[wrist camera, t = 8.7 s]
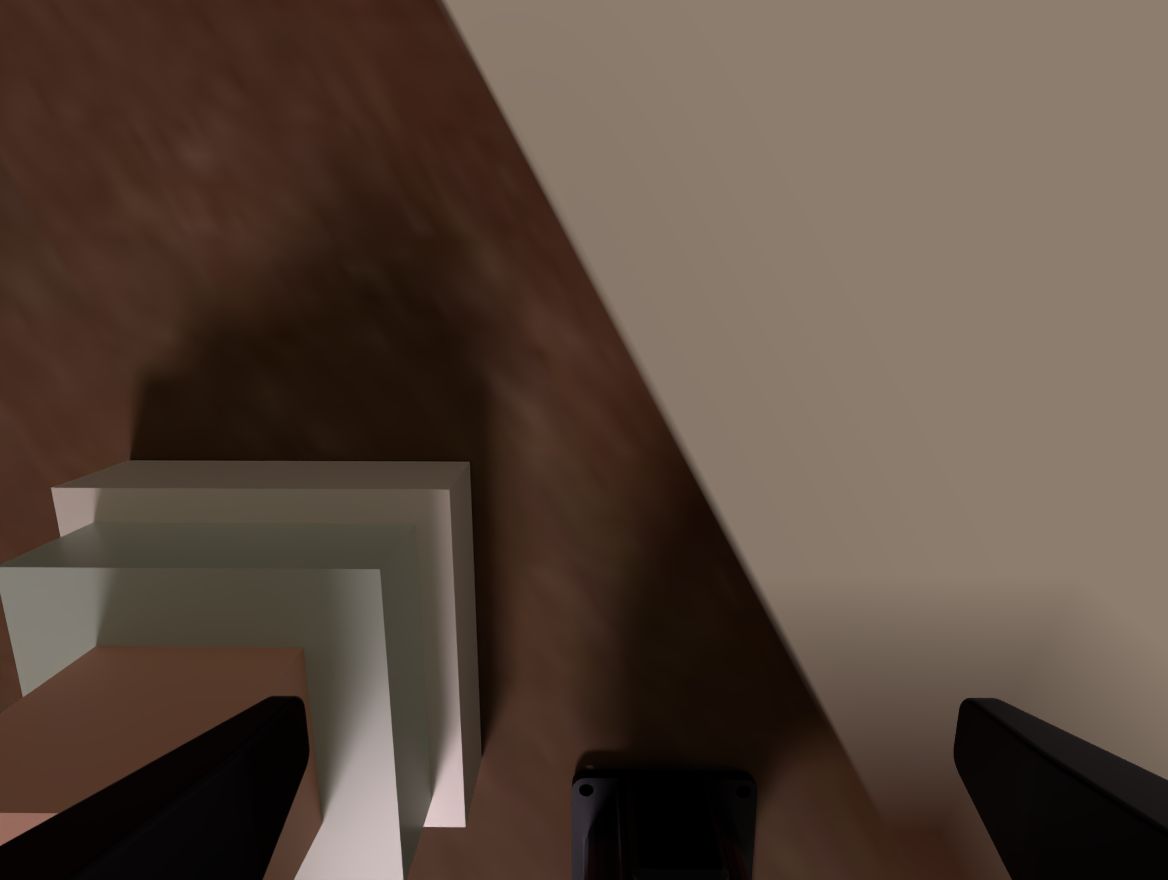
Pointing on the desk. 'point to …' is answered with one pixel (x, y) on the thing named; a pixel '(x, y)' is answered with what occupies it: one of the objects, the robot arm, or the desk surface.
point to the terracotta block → (142, 728)
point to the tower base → (338, 501)
